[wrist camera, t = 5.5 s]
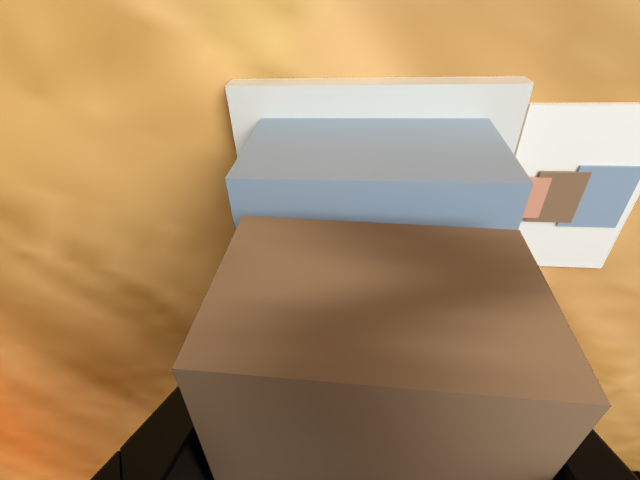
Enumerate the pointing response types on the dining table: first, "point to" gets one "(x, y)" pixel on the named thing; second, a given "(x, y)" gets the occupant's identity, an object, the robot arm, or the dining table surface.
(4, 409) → the dining table surface
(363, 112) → the grey square block
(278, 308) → the walnut brick
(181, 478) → the robot arm
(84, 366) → the dining table surface
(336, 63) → the dining table surface
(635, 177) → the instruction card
